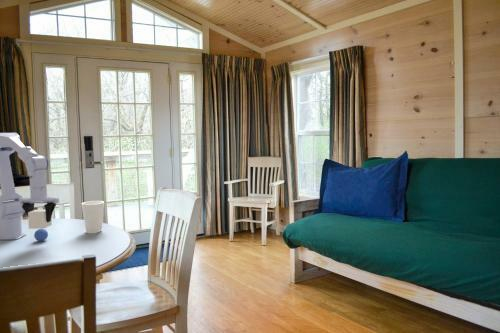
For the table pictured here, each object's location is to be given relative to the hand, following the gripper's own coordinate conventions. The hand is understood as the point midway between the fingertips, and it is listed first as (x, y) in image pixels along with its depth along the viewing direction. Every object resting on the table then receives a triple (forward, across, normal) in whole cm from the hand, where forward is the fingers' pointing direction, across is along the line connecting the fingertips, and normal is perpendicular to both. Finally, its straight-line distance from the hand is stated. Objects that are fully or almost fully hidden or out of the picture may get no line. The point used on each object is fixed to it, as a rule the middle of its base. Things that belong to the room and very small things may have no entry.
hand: (40, 221), depth 162 cm
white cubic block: (+2, 0, 0) cm, 2 cm away
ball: (+7, -3, +7) cm, 10 cm away
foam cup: (+10, +13, +21) cm, 27 cm away
